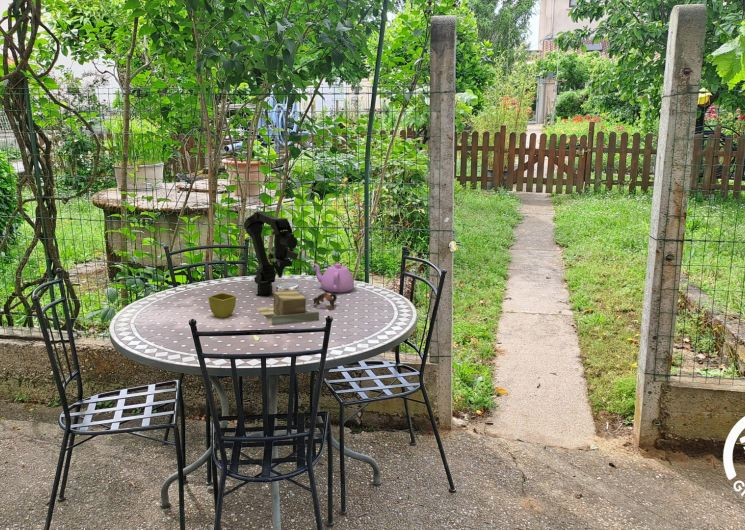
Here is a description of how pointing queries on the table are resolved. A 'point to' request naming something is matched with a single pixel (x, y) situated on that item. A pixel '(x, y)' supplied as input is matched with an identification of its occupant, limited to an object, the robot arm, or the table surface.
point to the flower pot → (222, 304)
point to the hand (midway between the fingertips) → (280, 277)
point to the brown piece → (328, 297)
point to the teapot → (335, 278)
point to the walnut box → (288, 302)
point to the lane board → (287, 316)
